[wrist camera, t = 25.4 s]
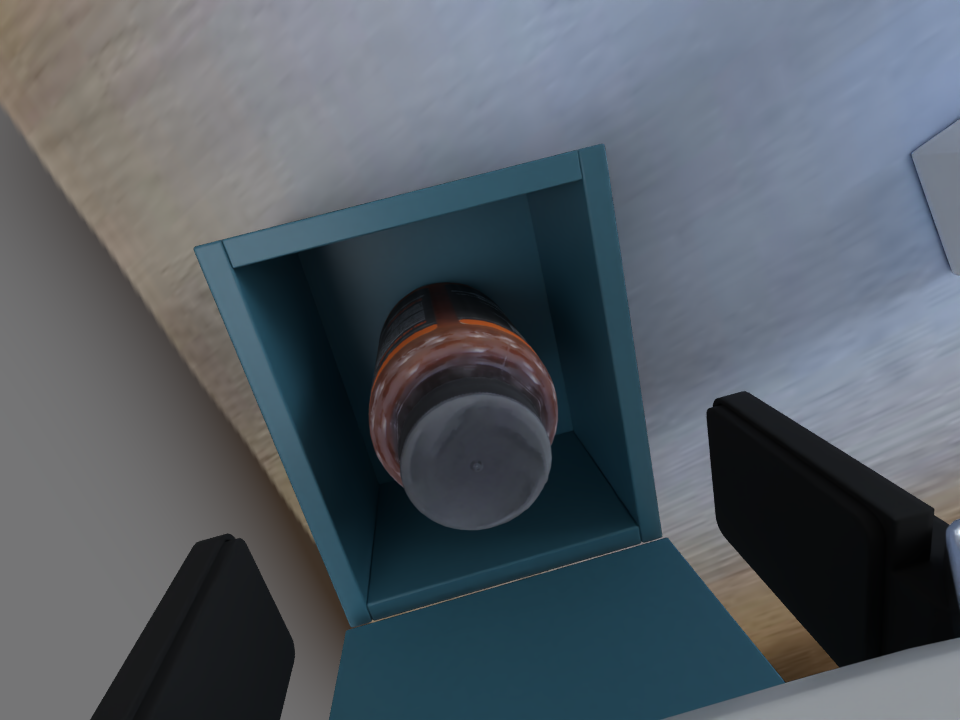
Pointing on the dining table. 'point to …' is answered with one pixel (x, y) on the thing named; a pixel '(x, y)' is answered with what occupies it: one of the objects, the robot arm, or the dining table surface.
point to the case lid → (557, 649)
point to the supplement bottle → (461, 408)
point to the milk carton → (943, 187)
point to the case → (353, 351)
